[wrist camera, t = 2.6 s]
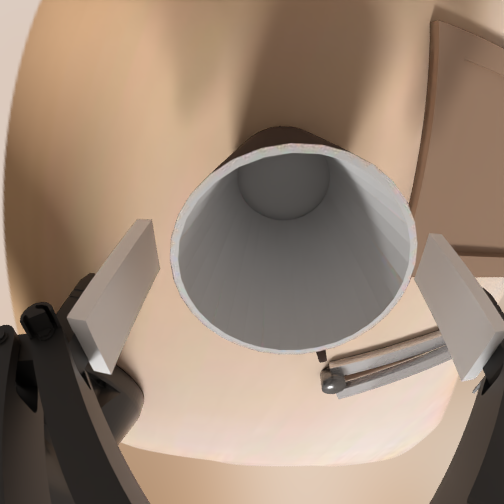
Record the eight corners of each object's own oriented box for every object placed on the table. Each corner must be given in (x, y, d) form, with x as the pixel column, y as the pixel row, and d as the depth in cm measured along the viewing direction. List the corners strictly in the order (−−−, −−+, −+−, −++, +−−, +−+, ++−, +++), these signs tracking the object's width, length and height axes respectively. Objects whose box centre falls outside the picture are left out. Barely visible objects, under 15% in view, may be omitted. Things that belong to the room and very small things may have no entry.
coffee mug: (222, 97, 16) (175, 123, 8) (365, 125, 17) (451, 180, 8) (205, 263, 23) (174, 377, 14) (321, 280, 23) (342, 395, 14)
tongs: (324, 389, 31) (326, 403, 29) (316, 364, 28) (318, 379, 27) (482, 339, 27) (489, 351, 25) (490, 309, 24) (498, 321, 23)
